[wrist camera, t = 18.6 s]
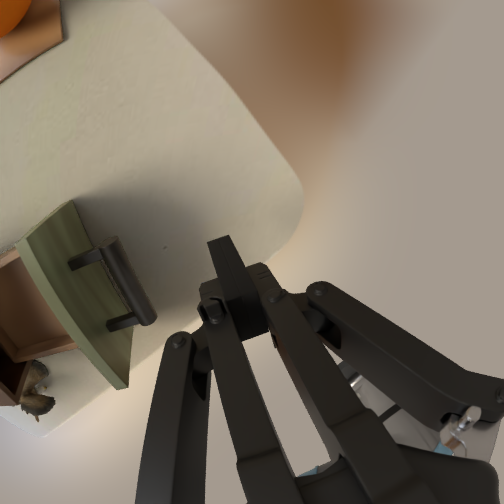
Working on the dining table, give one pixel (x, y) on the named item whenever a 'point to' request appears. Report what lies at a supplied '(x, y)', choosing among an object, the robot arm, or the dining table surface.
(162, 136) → the dining table surface
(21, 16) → the orange
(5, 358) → the cabinet
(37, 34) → the coaster
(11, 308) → the drawer
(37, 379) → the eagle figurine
